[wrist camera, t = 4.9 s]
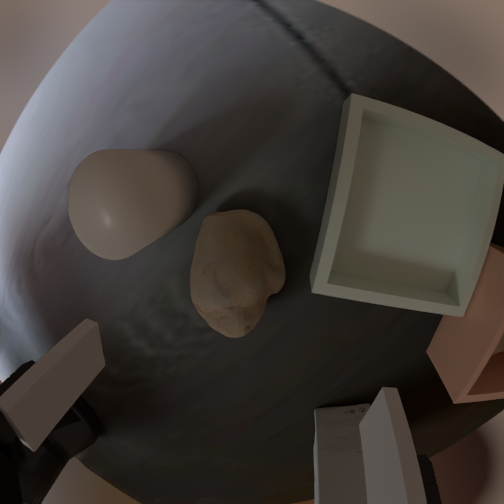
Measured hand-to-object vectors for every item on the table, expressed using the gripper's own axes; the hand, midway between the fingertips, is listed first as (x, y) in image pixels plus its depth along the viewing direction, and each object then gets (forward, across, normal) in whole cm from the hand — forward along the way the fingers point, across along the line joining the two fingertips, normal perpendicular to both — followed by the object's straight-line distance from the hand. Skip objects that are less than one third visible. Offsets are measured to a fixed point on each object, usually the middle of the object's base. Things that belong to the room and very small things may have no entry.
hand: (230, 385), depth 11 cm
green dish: (+11, +10, +8) cm, 16 cm away
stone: (+11, -2, +1) cm, 11 cm away
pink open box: (+11, +22, +2) cm, 24 cm away
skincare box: (+11, +12, -15) cm, 22 cm away
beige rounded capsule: (+11, -8, +6) cm, 15 cm away
